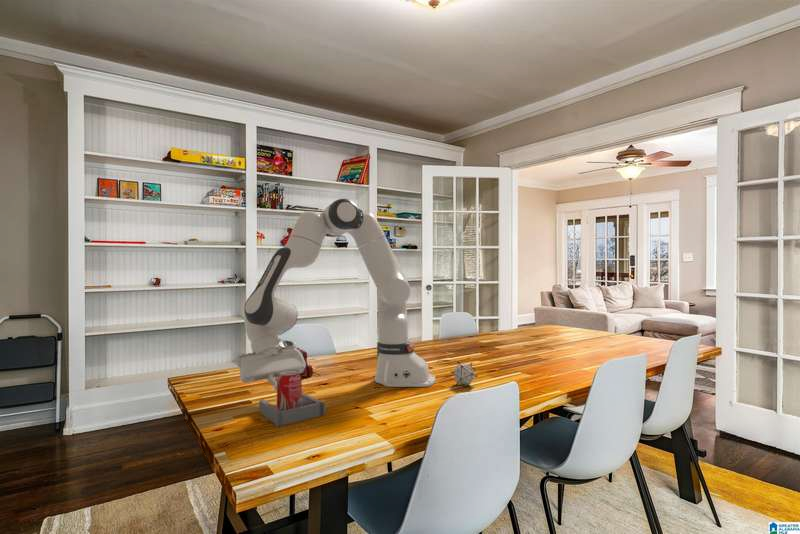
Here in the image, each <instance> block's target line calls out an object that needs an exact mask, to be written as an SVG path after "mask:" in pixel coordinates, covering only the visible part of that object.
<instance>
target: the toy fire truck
mask: <svg viewBox="0 0 800 534" xmlns="http://www.w3.org/2000/svg"><path fill="white" fill-rule="evenodd" d="M296 349H298V350H299V351H300V352H301V354H302V356H303V358H304V360H305V363H306V367H305V369H304V371H303V372H302V373H299V374H300V376H303V375H306V376H307V377H312V376H313V375H314V369H313V366H312V365H310V364H308V352H307V351H305V350H304V349H300V348H299V347H296Z"/></svg>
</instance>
